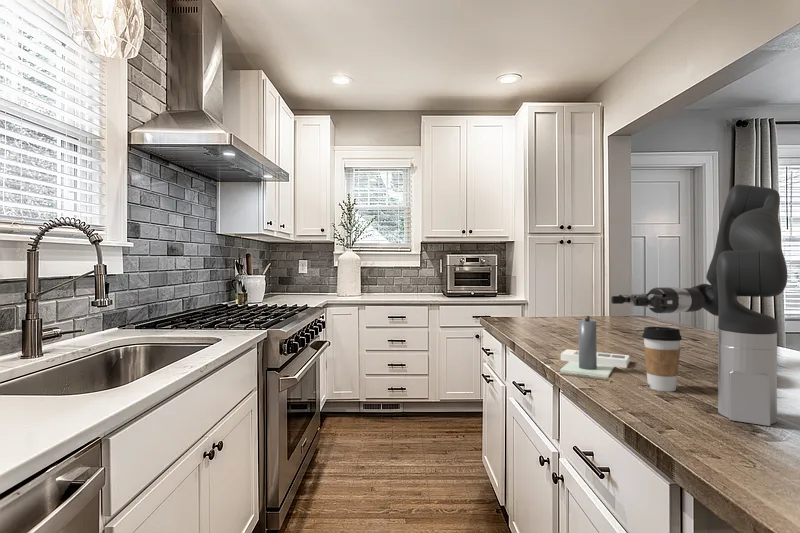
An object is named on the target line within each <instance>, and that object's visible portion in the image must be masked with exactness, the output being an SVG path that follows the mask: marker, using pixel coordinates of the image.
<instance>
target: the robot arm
mask: <svg viewBox="0 0 800 533" xmlns="http://www.w3.org/2000/svg"><path fill="white" fill-rule="evenodd" d="M780 196H781V195H780V193H779V191H778V190H776V189H774V188H771V187H763V186H759V185H758V186H757V185H749V184H748V185H747V184H735V185H734V186H732V187H731V189H730V191H729V192H728V195H727V197H726V200H725V203H724V205H723V210H722V214H721V218H720V224H719V226H718V227H719V228H718V232H717V236H716V243H715V248H714V252H713V255H712V257H711V261H710V263H709V266H708V270H707V271H706V277H705V278H706V280H707V282H708V283H700V284H697V285H695V286H692V287H687V288H685V287H684V288H683V287H681V288H680V287H667V286H666V287H653V288H651V289H650V290H649V291H648V293H644V292H643V293H639V294H638V293H630V294H619V295H612V296H611V298H610V299H611V304H614V305H616V304H622V305H630V306H631V307H642V308H649V310H650V311H651V312H653V313H655V314H678V313H688V312H689V313H691V312H697V311H700V310H702V309H703V310H705V311H707V312H708V313H710V314H711V315H712V316H713V315H714V316H716V317H717V320H718V322H717V393H718V394H717V412H718V413H719V414H720V415H721V416H723V417H726V418H727V419H728V420H730V421H733V422H734V421H736V422H742V423H746V424H747V423H748V424H756V425H761V426H765V427H766V426H768V427H771V425H772V424H775V423H777V422H778V391H777V390H778V386H777V385H778V352H777V351H778V349H777V348H778V322H777V320H776V318H775V317H772V316H771V315H768V314H765V313H764V314H763V313H761V312H758V311H755V310H752V309H751V308H749V307H747V306H745V305H743V304H742V303H740V302H739V300H738V297H751V298H752V297H753V298H756V297H757V298H759V297H760V298H769V297H772V298H773V297H777V296H779V295H781V294H782V293H783V291H785V288H786V287H787V283H788V277H789V276H788V267H787V261H786V258H785V256H784V252H783V249H782V231H781V230H782V228H781V225H780V221H779V213H780V212H779V210H780V203H781V197H780Z"/></svg>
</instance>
